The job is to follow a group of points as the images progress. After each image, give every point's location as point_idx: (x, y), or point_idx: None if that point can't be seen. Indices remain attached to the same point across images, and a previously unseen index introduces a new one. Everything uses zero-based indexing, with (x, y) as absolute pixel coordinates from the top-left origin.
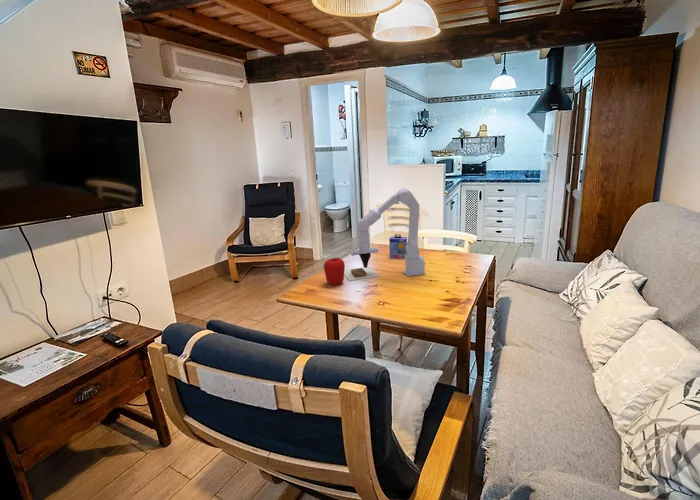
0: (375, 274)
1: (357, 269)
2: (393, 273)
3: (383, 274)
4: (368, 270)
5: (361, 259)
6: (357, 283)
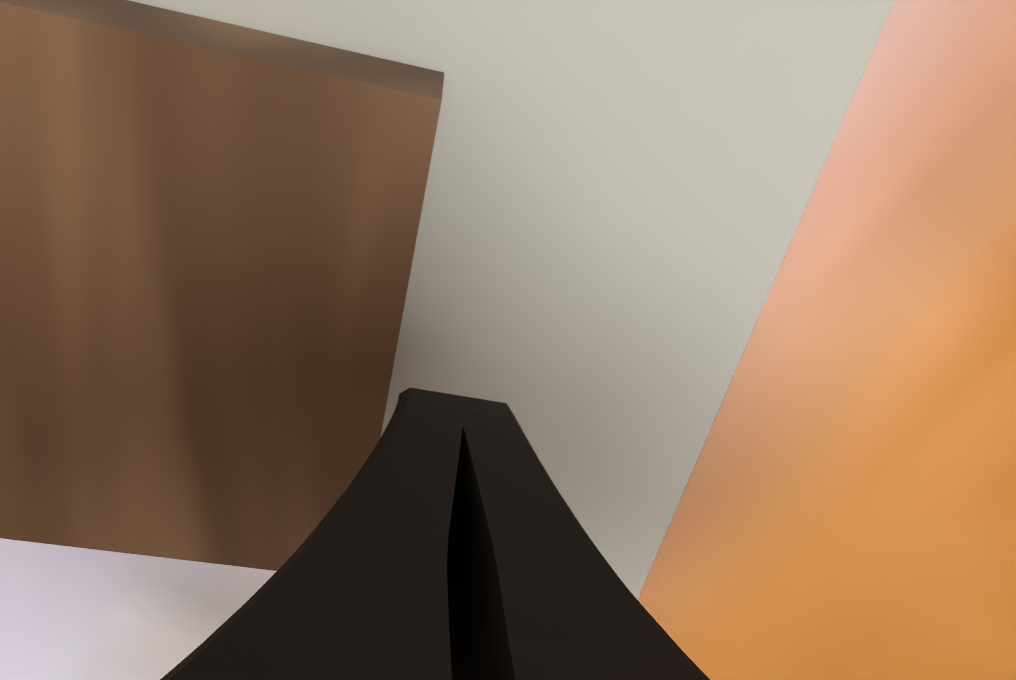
0: (628, 512)
1: (185, 180)
2: (1010, 580)
3: (811, 528)
4: (691, 119)
5: (248, 630)
6: (18, 671)
